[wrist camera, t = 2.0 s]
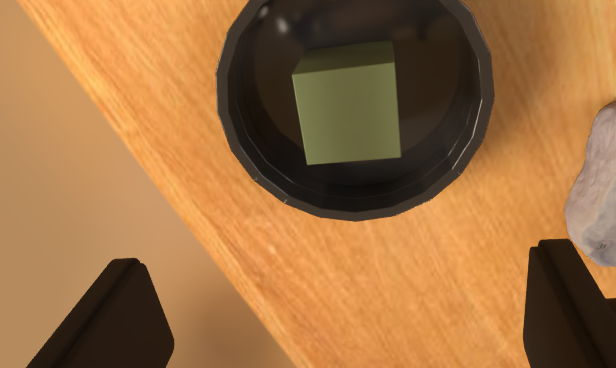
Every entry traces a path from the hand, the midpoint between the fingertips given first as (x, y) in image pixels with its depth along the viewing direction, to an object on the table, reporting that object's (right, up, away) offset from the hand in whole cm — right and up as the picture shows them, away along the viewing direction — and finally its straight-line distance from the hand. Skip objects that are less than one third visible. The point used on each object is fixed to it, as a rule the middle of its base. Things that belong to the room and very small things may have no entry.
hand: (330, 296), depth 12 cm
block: (+2, +8, +14) cm, 16 cm away
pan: (+2, +8, +14) cm, 17 cm away
